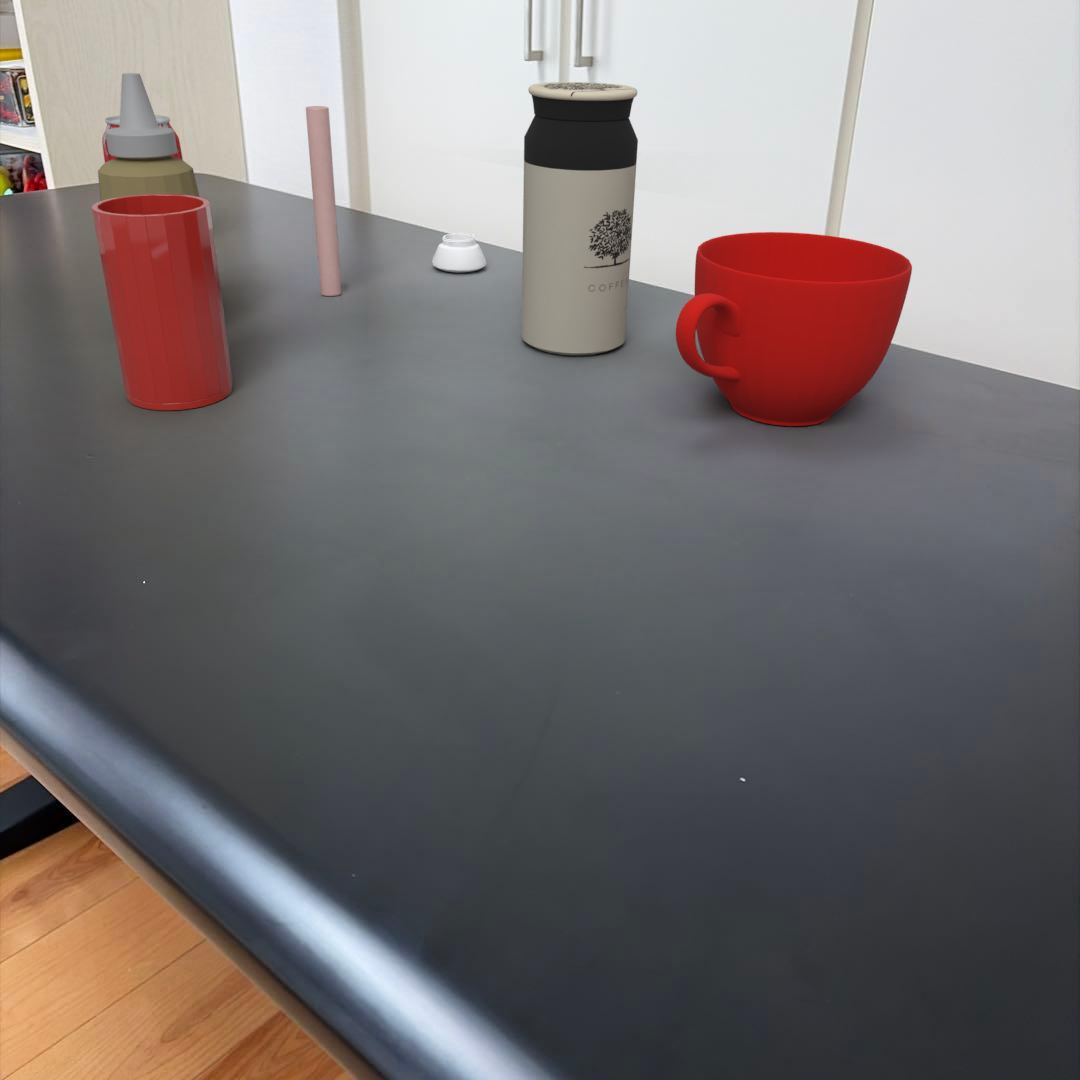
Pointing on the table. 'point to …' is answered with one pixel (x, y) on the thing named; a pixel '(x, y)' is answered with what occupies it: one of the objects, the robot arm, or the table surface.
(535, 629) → the table surface
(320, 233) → the straw
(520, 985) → the table surface
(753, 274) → the ceramic cup
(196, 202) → the red tumbler
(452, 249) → the lidless jar
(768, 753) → the table surface
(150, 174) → the squeeze bottle
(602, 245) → the travel mug
